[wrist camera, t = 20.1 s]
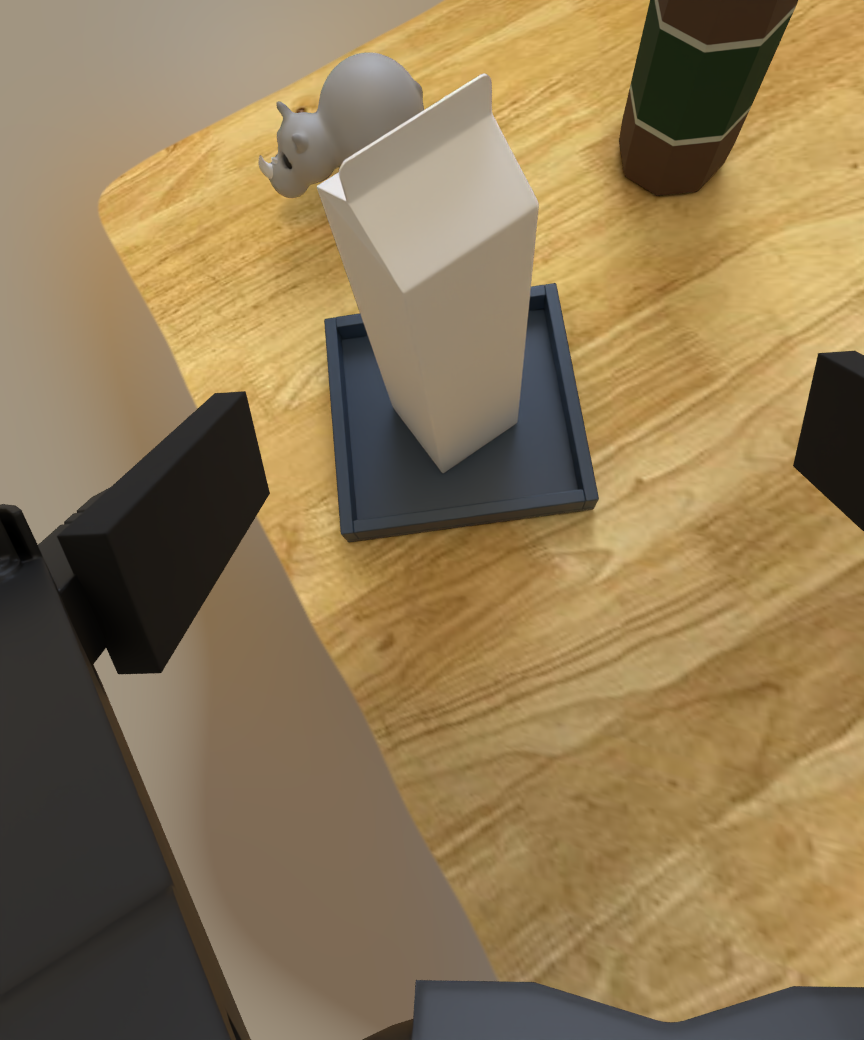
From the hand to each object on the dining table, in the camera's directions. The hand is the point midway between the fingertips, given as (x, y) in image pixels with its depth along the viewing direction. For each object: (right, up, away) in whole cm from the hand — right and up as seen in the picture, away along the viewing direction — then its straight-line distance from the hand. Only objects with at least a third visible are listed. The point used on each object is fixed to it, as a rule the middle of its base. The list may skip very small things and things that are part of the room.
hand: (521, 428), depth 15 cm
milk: (-1, +5, +26) cm, 27 cm away
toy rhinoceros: (-8, +23, +32) cm, 41 cm away
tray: (-1, +5, +27) cm, 27 cm away
